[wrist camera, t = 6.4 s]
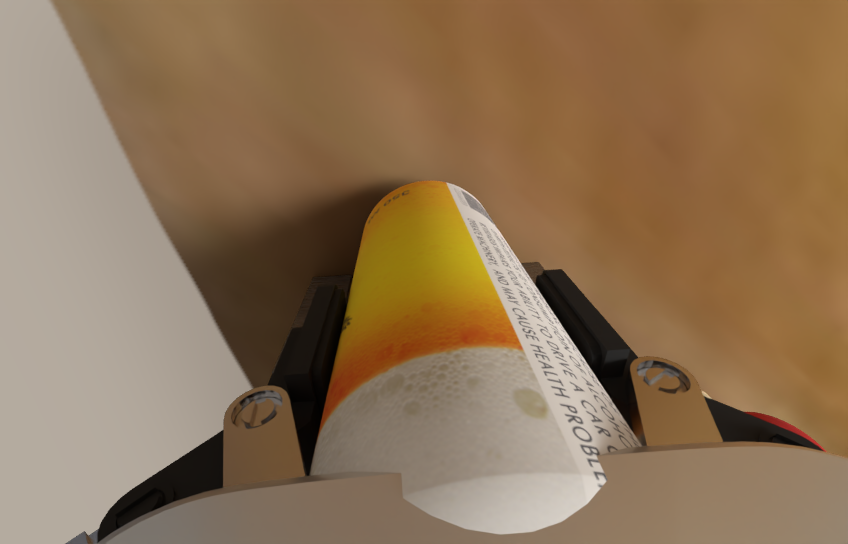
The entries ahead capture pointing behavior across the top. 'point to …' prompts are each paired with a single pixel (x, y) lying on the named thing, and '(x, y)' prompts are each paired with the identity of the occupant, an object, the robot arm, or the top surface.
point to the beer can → (462, 374)
